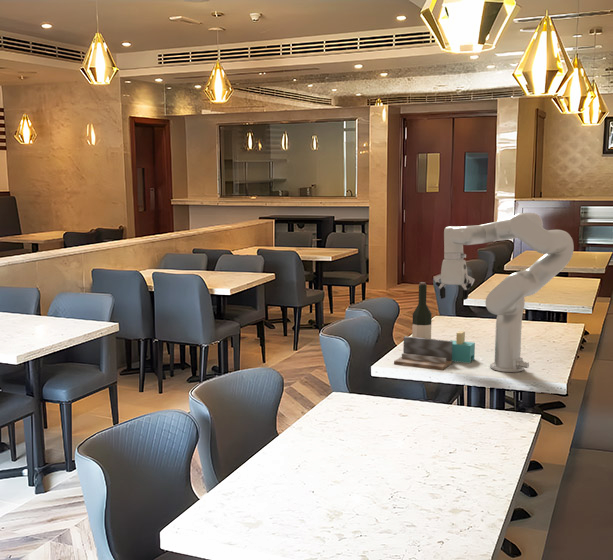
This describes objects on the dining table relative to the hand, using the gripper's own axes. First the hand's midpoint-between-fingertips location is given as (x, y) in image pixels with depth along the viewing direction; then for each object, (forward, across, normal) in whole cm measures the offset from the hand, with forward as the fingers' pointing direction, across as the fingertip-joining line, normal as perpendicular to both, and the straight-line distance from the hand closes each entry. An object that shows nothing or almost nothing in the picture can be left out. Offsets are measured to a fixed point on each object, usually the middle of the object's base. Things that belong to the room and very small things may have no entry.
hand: (454, 298), depth 287 cm
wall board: (+25, +7, +15) cm, 30 cm away
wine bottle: (+24, +16, -2) cm, 29 cm away
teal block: (+25, -3, 0) cm, 25 cm away
